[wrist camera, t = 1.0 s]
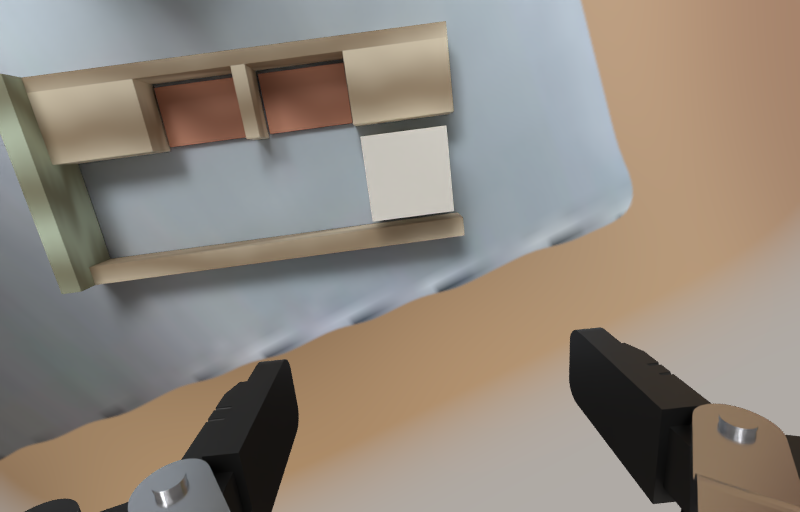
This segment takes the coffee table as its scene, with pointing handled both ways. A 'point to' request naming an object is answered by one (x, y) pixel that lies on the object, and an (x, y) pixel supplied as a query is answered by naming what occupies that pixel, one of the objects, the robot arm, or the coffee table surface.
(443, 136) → the cream block
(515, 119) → the coffee table surface
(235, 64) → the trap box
